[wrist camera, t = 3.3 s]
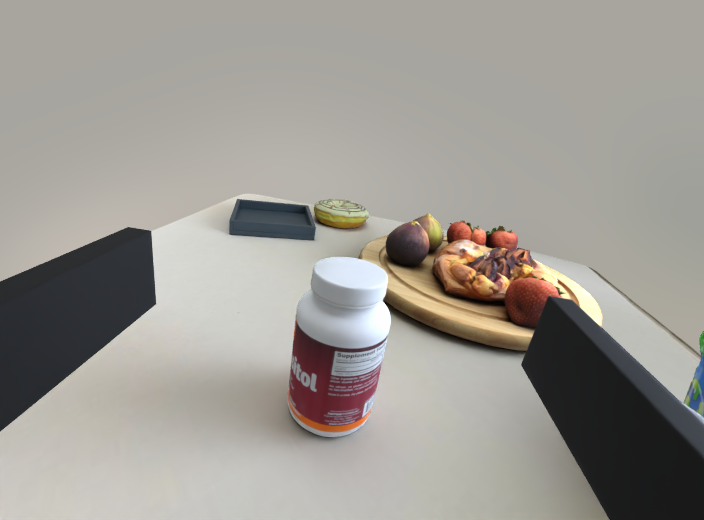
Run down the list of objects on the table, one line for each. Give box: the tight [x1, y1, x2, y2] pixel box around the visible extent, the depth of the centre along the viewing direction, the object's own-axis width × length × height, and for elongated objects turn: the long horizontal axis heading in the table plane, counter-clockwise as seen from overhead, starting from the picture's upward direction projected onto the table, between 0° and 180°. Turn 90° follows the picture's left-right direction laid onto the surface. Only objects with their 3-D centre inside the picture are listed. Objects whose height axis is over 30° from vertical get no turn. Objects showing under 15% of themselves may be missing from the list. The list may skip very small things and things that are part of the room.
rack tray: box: [229, 199, 316, 240], centre depth 63 cm, size 13×13×2 cm
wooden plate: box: [359, 214, 603, 351], centre depth 49 cm, size 32×32×8 cm
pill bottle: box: [288, 257, 391, 437], centre depth 24 cm, size 6×6×11 cm
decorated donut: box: [314, 200, 369, 229], centre depth 70 cm, size 10×11×4 cm
